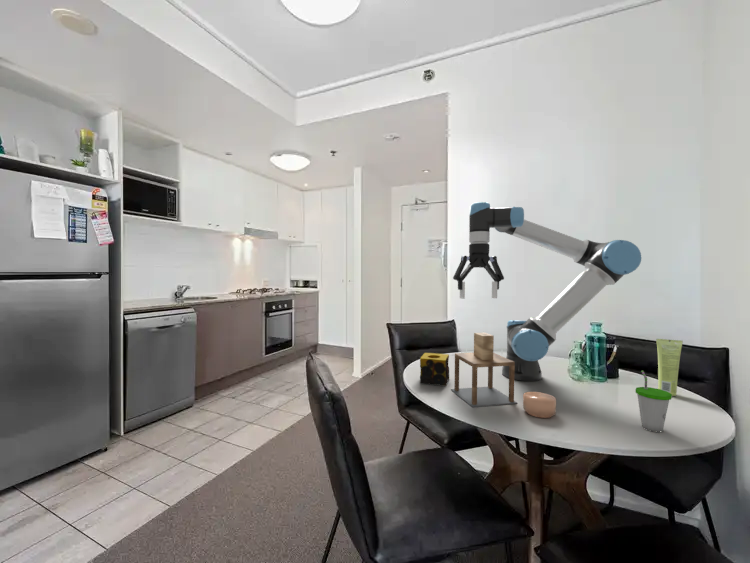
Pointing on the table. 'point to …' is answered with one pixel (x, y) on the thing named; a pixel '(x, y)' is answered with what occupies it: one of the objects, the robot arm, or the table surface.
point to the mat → (484, 396)
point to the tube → (668, 364)
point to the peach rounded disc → (539, 404)
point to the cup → (652, 406)
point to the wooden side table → (484, 364)
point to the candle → (434, 369)
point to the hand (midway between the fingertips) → (478, 298)
